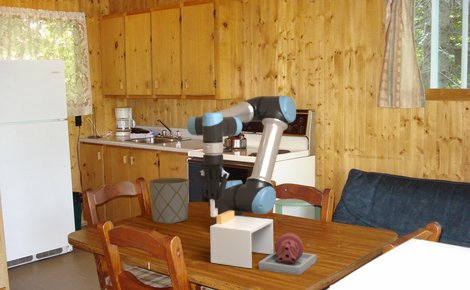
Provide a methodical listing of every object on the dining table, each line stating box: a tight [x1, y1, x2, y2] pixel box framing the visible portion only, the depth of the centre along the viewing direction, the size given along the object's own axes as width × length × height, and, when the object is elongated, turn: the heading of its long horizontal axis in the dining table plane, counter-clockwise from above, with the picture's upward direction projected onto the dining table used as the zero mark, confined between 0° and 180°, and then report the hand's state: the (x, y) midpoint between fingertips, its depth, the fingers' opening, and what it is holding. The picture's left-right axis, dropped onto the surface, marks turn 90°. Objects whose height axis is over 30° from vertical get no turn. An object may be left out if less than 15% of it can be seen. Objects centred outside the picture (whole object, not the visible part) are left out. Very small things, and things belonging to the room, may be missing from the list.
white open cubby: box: [209, 210, 274, 269], centre depth 198 cm, size 16×19×16 cm
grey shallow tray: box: [258, 251, 318, 276], centre depth 190 cm, size 15×17×2 cm
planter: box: [148, 177, 190, 225], centre depth 262 cm, size 19×19×20 cm
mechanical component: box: [274, 232, 304, 264], centre depth 189 cm, size 12×10×10 cm
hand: (214, 216), depth 202 cm, fingers closed
